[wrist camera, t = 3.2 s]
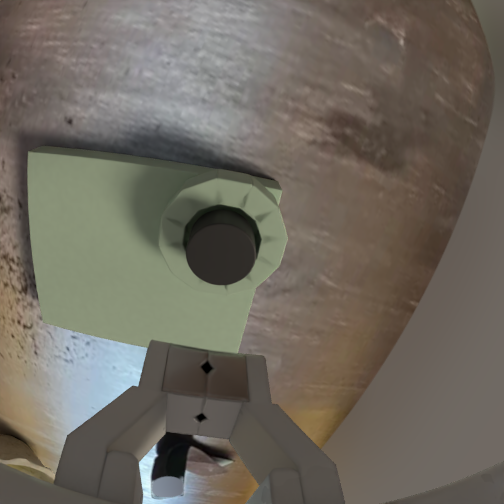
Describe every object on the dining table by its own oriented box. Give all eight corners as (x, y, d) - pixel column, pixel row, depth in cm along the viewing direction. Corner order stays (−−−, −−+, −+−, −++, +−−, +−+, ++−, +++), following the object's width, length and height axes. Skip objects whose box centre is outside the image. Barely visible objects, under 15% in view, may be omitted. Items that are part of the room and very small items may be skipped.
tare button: (260, 215, 15) (263, 230, 13) (246, 271, 16) (248, 291, 15) (195, 203, 14) (190, 217, 13) (186, 260, 16) (181, 279, 14)
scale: (288, 175, 17) (300, 194, 14) (241, 345, 23) (242, 382, 20) (43, 137, 15) (9, 150, 12) (51, 308, 21) (32, 339, 17)
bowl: (75, 476, 36) (64, 526, 28) (8, 452, 35) (-7, 496, 26) (43, 433, 30) (23, 496, 21) (-31, 403, 28) (-54, 454, 19)
